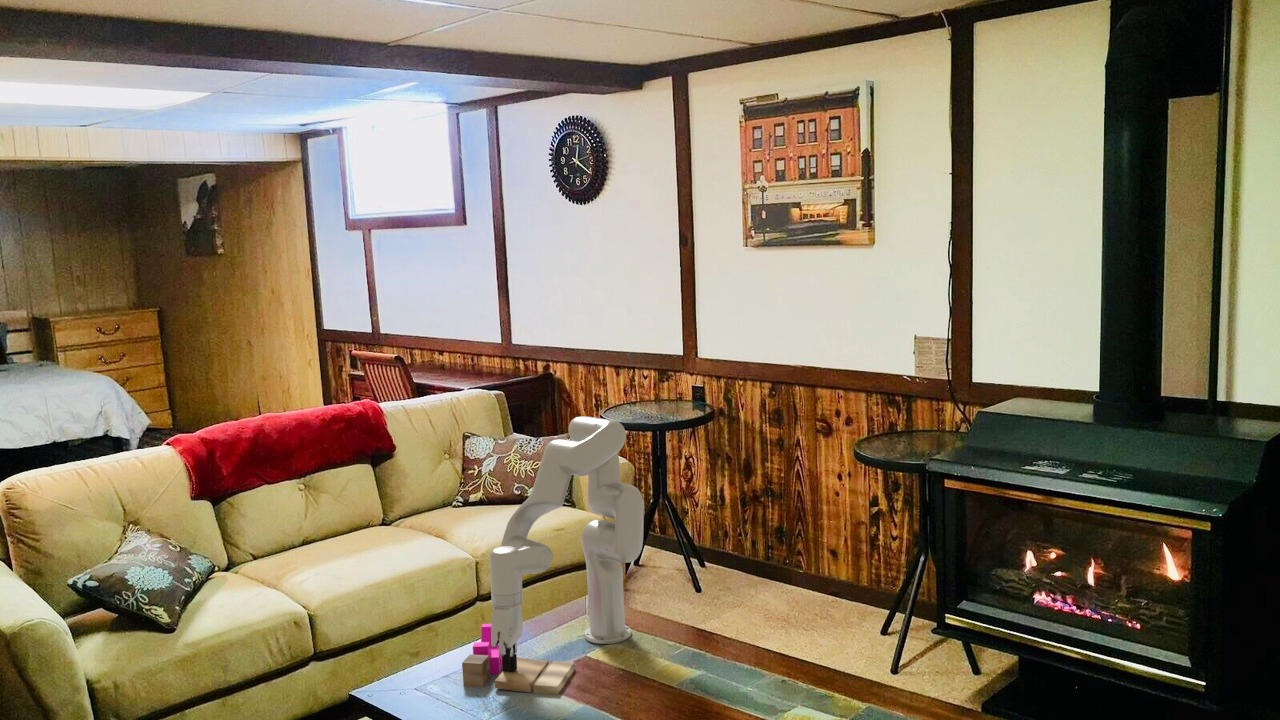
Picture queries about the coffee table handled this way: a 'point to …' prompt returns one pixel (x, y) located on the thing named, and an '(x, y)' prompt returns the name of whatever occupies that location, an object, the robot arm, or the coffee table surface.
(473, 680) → the walnut block
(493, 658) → the toy block
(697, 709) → the coffee table surface
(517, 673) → the plank
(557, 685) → the laid board
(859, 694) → the coffee table surface
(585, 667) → the coffee table surface
